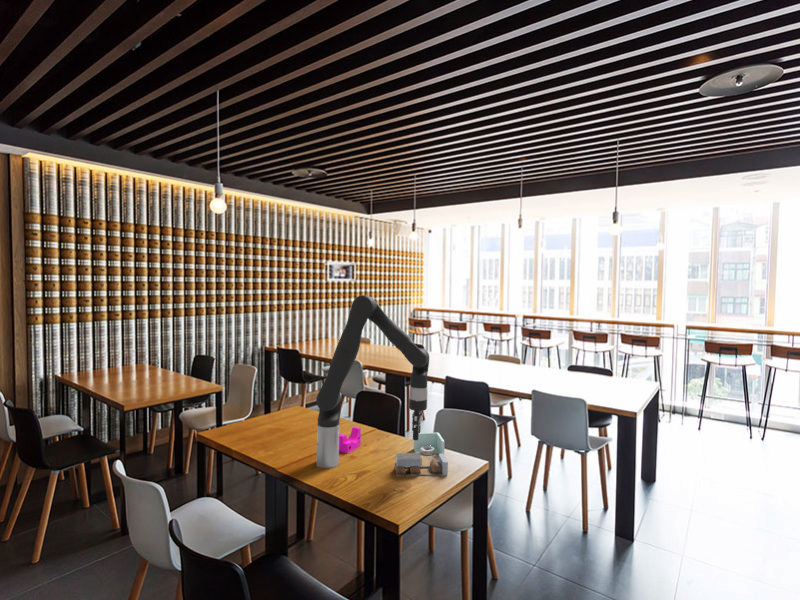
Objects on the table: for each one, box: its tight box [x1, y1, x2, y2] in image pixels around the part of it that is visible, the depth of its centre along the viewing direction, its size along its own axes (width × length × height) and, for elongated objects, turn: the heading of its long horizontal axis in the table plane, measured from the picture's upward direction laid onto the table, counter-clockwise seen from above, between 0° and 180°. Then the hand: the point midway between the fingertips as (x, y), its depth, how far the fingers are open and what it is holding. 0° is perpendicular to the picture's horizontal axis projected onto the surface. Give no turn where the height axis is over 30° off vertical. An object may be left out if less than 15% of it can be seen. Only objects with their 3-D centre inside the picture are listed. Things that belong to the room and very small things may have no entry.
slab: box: [395, 452, 423, 467], centre depth 179 cm, size 10×6×3 cm, turn 96°
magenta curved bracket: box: [339, 425, 362, 454], centre depth 207 cm, size 15×6×8 cm, turn 153°
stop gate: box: [437, 453, 449, 476], centre depth 181 cm, size 2×9×6 cm, turn 6°
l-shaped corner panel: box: [413, 431, 446, 456], centre depth 202 cm, size 12×12×8 cm
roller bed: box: [394, 459, 443, 477], centre depth 180 cm, size 19×8×4 cm, turn 96°
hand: (416, 436), depth 179 cm, fingers open, 8 cm apart
